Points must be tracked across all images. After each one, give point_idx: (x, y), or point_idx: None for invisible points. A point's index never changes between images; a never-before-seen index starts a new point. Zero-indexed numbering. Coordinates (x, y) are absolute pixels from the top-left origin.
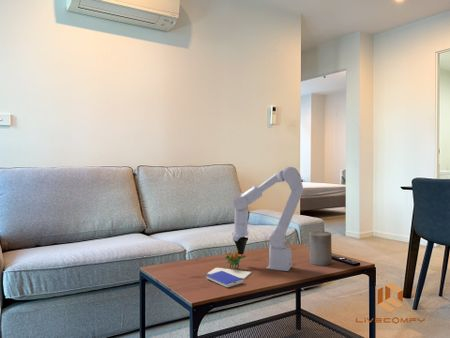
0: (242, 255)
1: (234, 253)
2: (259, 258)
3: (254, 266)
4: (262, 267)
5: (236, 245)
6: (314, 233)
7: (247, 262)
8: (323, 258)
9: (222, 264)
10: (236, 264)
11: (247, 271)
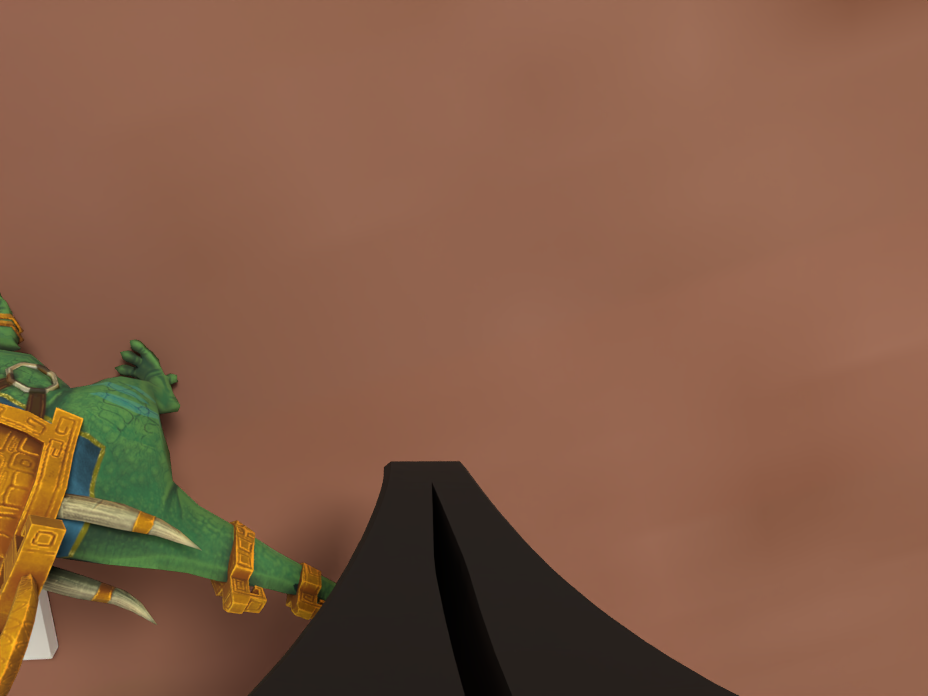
0: (253, 603)
1: (25, 527)
2: (865, 515)
3: None
4: None
5: (315, 624)
6: None
7: (605, 431)
8: None
9: (319, 20)
10: (167, 411)
11: None
